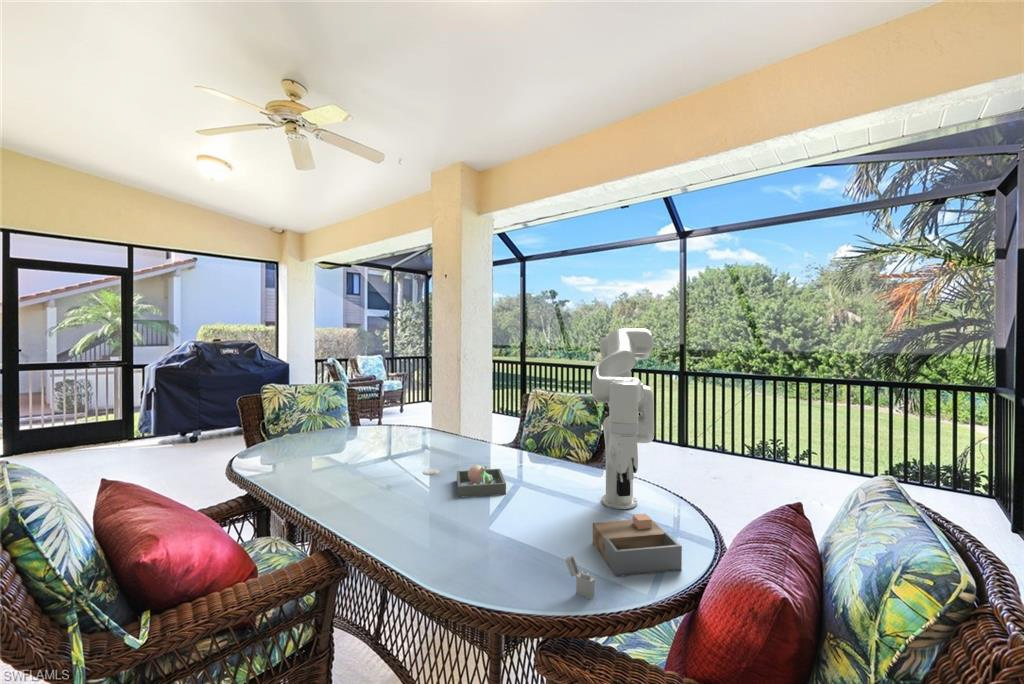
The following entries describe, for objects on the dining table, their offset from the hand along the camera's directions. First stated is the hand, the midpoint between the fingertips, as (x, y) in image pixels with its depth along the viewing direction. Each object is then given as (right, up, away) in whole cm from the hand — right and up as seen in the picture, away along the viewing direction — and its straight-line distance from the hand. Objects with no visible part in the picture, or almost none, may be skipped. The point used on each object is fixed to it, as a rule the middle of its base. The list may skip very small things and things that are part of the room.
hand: (623, 495), depth 121 cm
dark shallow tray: (-42, -16, +58) cm, 74 cm away
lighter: (-14, -19, -13) cm, 27 cm away
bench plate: (+3, -18, +8) cm, 20 cm away
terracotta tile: (+8, -12, +10) cm, 17 cm away
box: (+5, -19, -1) cm, 19 cm away
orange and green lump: (-42, -17, +58) cm, 74 cm away
